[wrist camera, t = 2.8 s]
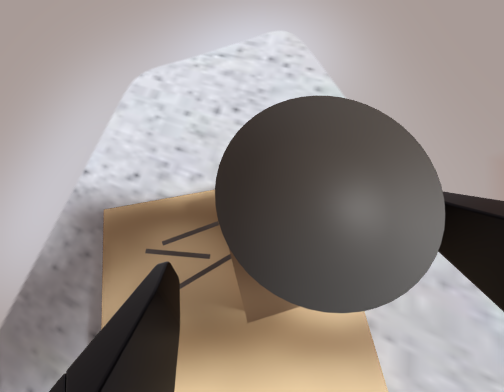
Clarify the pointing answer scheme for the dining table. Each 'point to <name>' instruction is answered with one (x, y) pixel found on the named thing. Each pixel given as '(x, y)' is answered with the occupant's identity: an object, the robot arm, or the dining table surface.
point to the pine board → (230, 309)
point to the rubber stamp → (327, 208)
